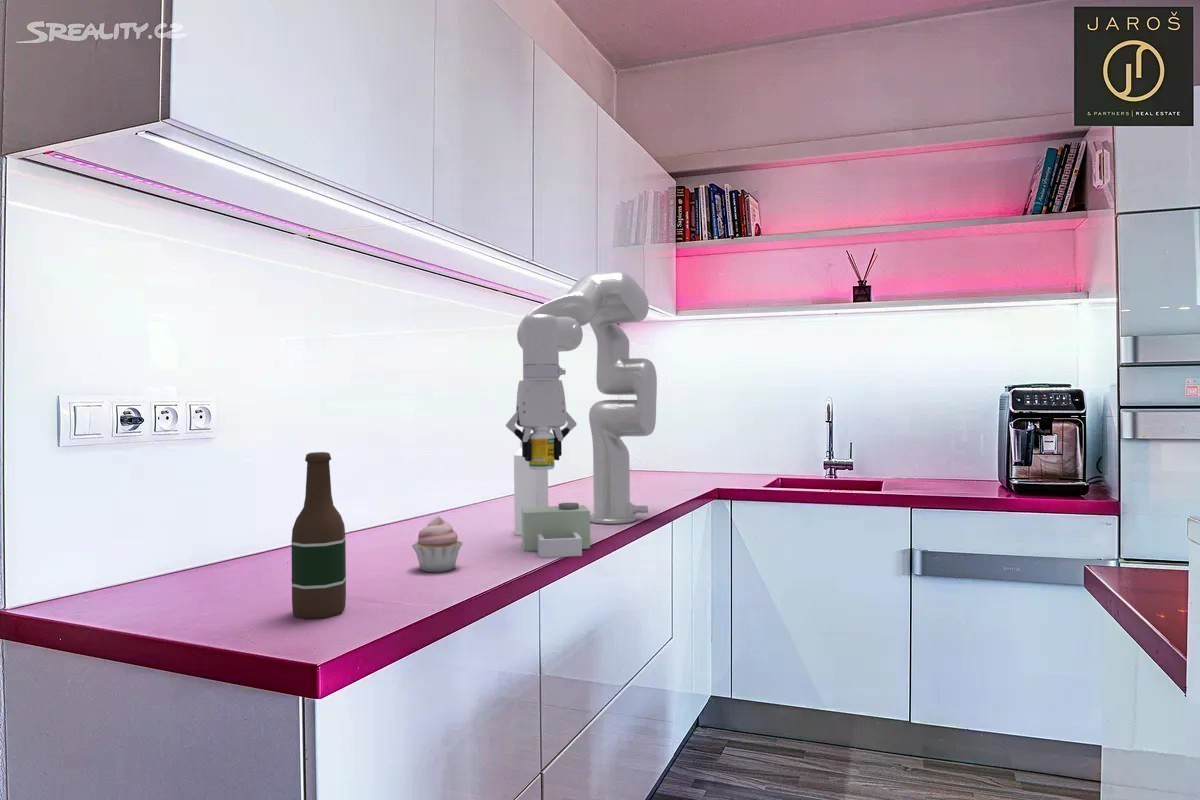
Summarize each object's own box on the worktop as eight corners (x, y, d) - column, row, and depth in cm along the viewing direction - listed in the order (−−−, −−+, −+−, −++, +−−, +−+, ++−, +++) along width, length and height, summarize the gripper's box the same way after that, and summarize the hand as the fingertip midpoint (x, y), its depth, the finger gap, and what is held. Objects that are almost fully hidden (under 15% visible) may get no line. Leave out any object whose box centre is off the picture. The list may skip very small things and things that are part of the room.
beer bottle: (339, 603, 119) (338, 450, 120) (352, 614, 113) (351, 452, 113) (287, 610, 115) (285, 452, 115) (297, 623, 109) (295, 455, 109)
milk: (527, 531, 185) (526, 440, 185) (549, 532, 182) (548, 440, 183) (514, 535, 179) (513, 441, 180) (536, 536, 177) (535, 441, 177)
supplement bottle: (533, 467, 163) (532, 422, 163) (557, 468, 162) (557, 422, 162) (525, 470, 157) (525, 423, 157) (550, 470, 156) (550, 423, 156)
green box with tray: (584, 540, 171) (583, 500, 171) (595, 555, 155) (595, 511, 155) (521, 543, 169) (521, 502, 169) (526, 558, 152) (525, 513, 152)
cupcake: (429, 577, 137) (428, 521, 137) (403, 569, 143) (402, 516, 143) (472, 569, 143) (472, 515, 143) (445, 561, 150) (445, 511, 150)
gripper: (575, 374, 165) (576, 457, 166) (497, 374, 160) (498, 460, 160) (585, 373, 158) (586, 460, 158) (503, 373, 153) (504, 463, 153)
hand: (542, 459), depth 159 cm, fingers closed on supplement bottle, 5 cm apart
